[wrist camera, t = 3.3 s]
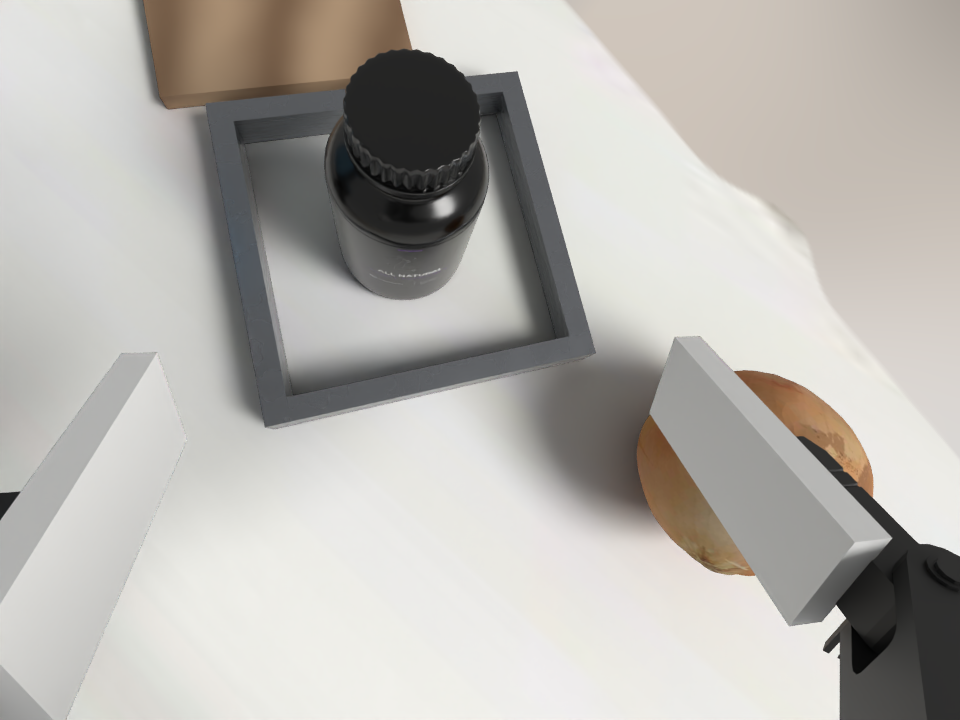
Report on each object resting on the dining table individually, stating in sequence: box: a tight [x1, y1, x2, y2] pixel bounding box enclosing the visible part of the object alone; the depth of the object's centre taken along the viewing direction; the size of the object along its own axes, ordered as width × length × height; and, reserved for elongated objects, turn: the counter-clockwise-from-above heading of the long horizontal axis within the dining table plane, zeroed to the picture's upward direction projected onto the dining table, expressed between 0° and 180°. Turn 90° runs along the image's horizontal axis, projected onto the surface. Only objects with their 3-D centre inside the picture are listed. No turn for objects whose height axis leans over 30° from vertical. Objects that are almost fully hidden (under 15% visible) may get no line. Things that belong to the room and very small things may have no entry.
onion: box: [637, 370, 873, 576], centre depth 25 cm, size 10×10×10 cm
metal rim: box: [205, 71, 596, 429], centre depth 28 cm, size 17×17×2 cm
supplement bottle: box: [324, 48, 489, 300], centre depth 23 cm, size 7×7×12 cm
